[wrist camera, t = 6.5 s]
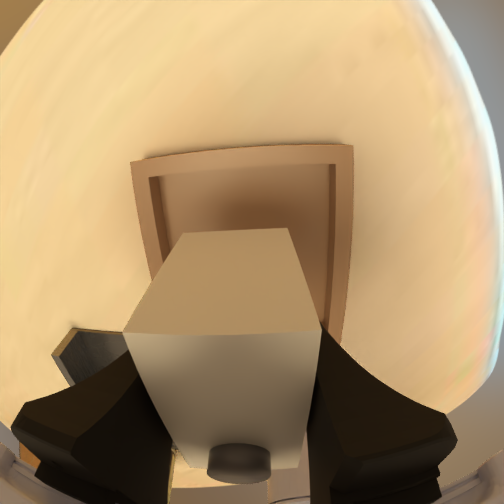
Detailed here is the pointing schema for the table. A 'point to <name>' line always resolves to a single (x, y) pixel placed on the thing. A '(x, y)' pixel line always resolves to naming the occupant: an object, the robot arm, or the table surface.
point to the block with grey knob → (230, 351)
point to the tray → (257, 207)
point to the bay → (88, 354)
